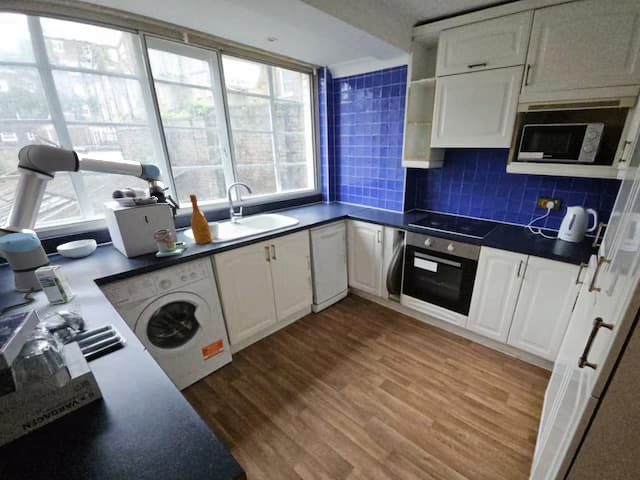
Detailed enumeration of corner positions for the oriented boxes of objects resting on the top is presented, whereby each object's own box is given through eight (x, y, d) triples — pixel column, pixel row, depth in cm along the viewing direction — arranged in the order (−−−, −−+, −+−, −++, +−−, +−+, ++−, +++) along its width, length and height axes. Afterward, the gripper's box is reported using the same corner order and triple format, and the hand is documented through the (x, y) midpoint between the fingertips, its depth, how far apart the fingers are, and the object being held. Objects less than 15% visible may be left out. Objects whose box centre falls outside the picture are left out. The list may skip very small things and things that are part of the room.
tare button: (182, 245, 174) (181, 242, 174) (174, 246, 173) (173, 243, 173) (183, 243, 178) (183, 241, 177) (176, 244, 177) (175, 241, 176)
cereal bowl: (68, 253, 174) (63, 242, 171) (103, 248, 180) (99, 237, 177) (56, 262, 160) (50, 250, 157) (94, 257, 166) (89, 245, 163)
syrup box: (49, 305, 116) (32, 272, 110) (57, 298, 121) (41, 266, 115) (68, 302, 118) (52, 269, 112) (74, 295, 123) (59, 264, 117)
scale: (182, 254, 168) (180, 249, 167) (156, 257, 164) (155, 252, 163) (188, 246, 180) (186, 241, 179) (164, 249, 177) (163, 244, 176)
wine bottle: (200, 245, 182) (188, 196, 170) (192, 242, 187) (179, 195, 175) (215, 241, 190) (204, 193, 178) (206, 238, 195) (195, 192, 183)
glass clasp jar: (168, 254, 164) (161, 233, 160) (154, 253, 165) (148, 233, 161) (179, 248, 173) (173, 228, 168) (166, 248, 174) (160, 228, 169)
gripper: (182, 192, 184) (186, 221, 177) (134, 196, 174) (137, 226, 168) (179, 184, 177) (183, 214, 171) (129, 188, 168) (132, 219, 161)
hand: (160, 220), depth 169 cm, fingers open, 13 cm apart
